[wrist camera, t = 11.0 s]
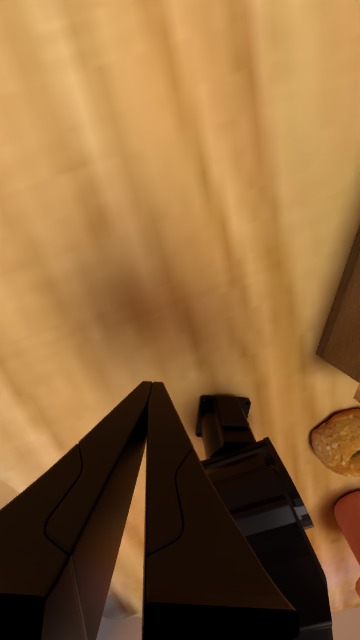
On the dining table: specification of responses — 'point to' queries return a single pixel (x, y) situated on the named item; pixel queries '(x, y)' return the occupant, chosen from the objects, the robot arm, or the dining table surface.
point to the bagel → (339, 443)
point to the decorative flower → (350, 523)
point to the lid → (357, 394)
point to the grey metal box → (345, 320)
